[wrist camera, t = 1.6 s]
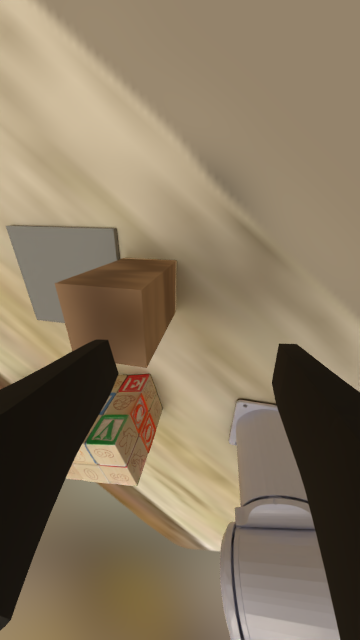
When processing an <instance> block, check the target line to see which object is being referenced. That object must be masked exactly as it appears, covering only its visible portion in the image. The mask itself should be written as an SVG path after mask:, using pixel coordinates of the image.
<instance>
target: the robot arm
mask: <svg viewBox="0 0 360 640" xmlns="http://www.w3.org/2000/svg"><path fill="white" fill-rule="evenodd" d="M117 377H118V371H117V367H116V364H115V361H114V357H113V354H112V351H111V347H110V344H109V341H108V340H101V339H96V340H94V341H91V342H89V343H87V344H85V345H83V346H81V347H80V348H78V349H76V350H74V351H72V352H71V353H69V354H67V355H65V356H63V357H62V358H60V359H58V360H56V361H54V362H53V363H51V364H49V365H47V366H45V367H44V368H42V369H40V370H38V371H36V372H34V373H32V374H30V375H28V376H27V377H25V378H23V379H21V380H19V381H17V382H15V383H13V384H11V385H9V386H7V387H5V388H3V389H1V390H0V630H1V629H2V628H3V627H5V626H6V625H7V623H8V622H9V621H10V620H11V618H12V615H13V612H14V609H15V606H16V603H17V600H18V597H19V595H20V592H21V589H22V586H23V584H24V581H25V578H26V575H27V573H28V570H29V567H30V564H31V562H32V559H33V556H34V553H35V551H36V548H37V546H38V543H39V541H40V538H41V536H42V533H43V531H44V528H45V526H46V523H47V521H48V518H49V516H50V513H51V511H52V508H53V506H54V504H55V502H56V499H57V497H58V494H59V492H60V490H61V488H62V485H63V483H64V481H65V479H66V476H67V474H68V472H69V470H70V468H71V466H72V463H73V461H74V459H75V457H76V455H77V453H78V451H79V449H80V447H81V445H82V443H83V442H84V440H85V438H86V436H87V435H88V433H89V431H90V429H91V428H92V426H93V424H94V422H95V421H96V419H97V417H98V415H99V414H100V412H101V410H102V408H103V407H104V405H105V403H106V401H107V399H108V398H109V396H110V394H111V392H112V389H113V387H114V384H115V382H116V379H117ZM272 385H273V390H274V395H275V400H276V404H277V405H271V404H265V403H258V402H252V401H245V400H238V401H237V402H236V406H235V411H234V416H233V421H232V426H231V431H230V436H229V443H230V444H232V445H237V457H238V472H239V487H240V501H241V507H236V508H235V520H236V522H230V523H229V524H228V526H227V529H226V531H225V533H224V535H223V539H222V544H221V553H220V579H221V593H222V601H223V608H224V613H225V618H226V622H227V626H228V630H229V633H230V639H231V640H360V392H359V391H357V390H356V389H354V388H353V387H352V386H350V385H349V384H348V383H346V382H345V381H344V380H342V379H341V378H340V377H338V376H337V375H336V374H334V373H333V372H332V371H330V370H329V369H328V368H327V367H325V366H324V365H323V364H321V363H320V362H319V361H318V360H316V359H315V358H314V357H313V356H311V355H310V354H309V353H307V352H306V351H305V350H304V349H302V348H301V347H300V346H298V345H297V344H279V347H278V352H277V358H276V363H275V369H274V374H273V380H272ZM244 404H246V405H244Z"/></svg>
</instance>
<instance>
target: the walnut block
mask: <svg viewBox="0 0 360 640" xmlns="http://www.w3.org/2000/svg"><path fill="white" fill-rule="evenodd" d="M176 264H177V260H159V259H140V258H123V259H120V260H117V261H114V262H112V263H109V264H106V265H103V266H101V267H98V268H95V269H92V270H90V271H87V272H84V273H81V274H79V275H76V276H73V277H70V278H68V279H65V280H62V281H59V282H57V283H55V287H56V291H57V294H58V298H59V302H60V306H61V309H62V313H63V317H64V321H65V325H66V328H67V332H68V336H69V340H70V343H71V347H72V351H74V350H76V349H78V348H80V347H81V346H83V345H85V344H87V343H89V342H91V341H94V340H96V339H101V340H108V341H109V344H110V347H111V351H112V354H113V357H114V361H115V363H117V364H124V365H131V366H138V367H145V368H147V366H148V364H149V362H150V360H151V358H152V357H153V355H154V353H155V351H156V349H157V347H158V345H159V343H160V341H161V339H162V337H163V335H164V333H165V331H166V329H167V327H168V325H169V324H170V322H171V320H172V318H173V316H174V314H175V312H176Z"/></svg>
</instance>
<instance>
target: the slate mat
mask: <svg viewBox="0 0 360 640" xmlns="http://www.w3.org/2000/svg"><path fill="white" fill-rule="evenodd" d="M6 228H7V231H8V234H9V237H10V240H11V243H12V246H13V249H14V252H15V255H16V258H17V261H18V264H19V267H20V270H21V273H22V276H23V279H24V282H25V285H26V288H27V291H28V294H29V297H30V300H31V303H32V306H33V309H34V312H35V315H36V318H37V320H43V321H52V322H61V323H65V321H64V317H63V313H62V309H61V306H60V302H59V298H58V294H57V291H56V287H55V283H57V282H59V281H62V280H65V279H68V278H70V277H73V276H76V275H79V274H81V273H84V272H87V271H90V270H92V269H95V268H98V267H101V266H103V265H106V264H109V263H112V262H114V261H117V260H120V257H119V248H118V239H117V230H116V229H113V228H77V227H41V226H6Z"/></svg>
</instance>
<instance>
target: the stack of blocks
mask: <svg viewBox="0 0 360 640" xmlns="http://www.w3.org/2000/svg"><path fill="white" fill-rule="evenodd" d="M161 412H162V406H161V403H160V400H159V398H158V395H157V393H156V389H155V386H154V383H153V380H152V378H151V376H150V374H144V375H129V376H128V375H118V377H117V379H116V382H115V384H114V387H113V389H112V392H111V394H110V396H109V398H108V399H107V401H106V403H105V405H104V407H103V408H102V410H101V412H100V414H99V415H98V417H97V419H96V421H95V422H94V424H93V426H92V428H91V429H90V431H89V433H88V435H87V436H86V438H85V440H84V442H83V443H82V445H81V447H80V449H79V451H78V453H77V455H76V457H75V459H74V461H73V463H72V466H71V468H70V470H69V472H68V474H67V476H66V479H75V480H85V481H91V482H100V483H112V484H121V485H130V486H138V483H139V480H140V477H141V474H142V471H143V468H144V465H145V462H146V458H147V455H148V453H149V451H150V448H151V445H152V442H153V439H154V436H155V432H156V428H157V425H158V422H159V419H160V416H161Z"/></svg>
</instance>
